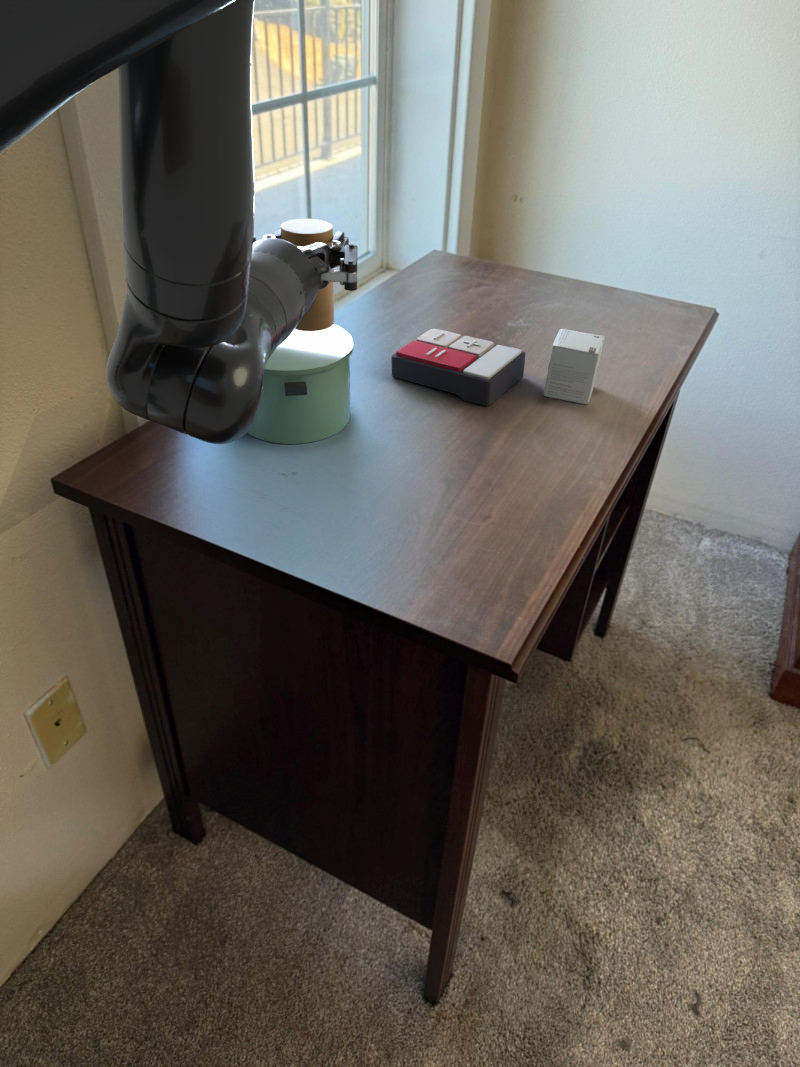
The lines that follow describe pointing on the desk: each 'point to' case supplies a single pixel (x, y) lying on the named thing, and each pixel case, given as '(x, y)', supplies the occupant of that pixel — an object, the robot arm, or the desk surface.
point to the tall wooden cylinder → (323, 305)
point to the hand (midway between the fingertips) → (313, 239)
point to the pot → (306, 388)
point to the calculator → (460, 365)
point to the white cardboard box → (573, 366)
